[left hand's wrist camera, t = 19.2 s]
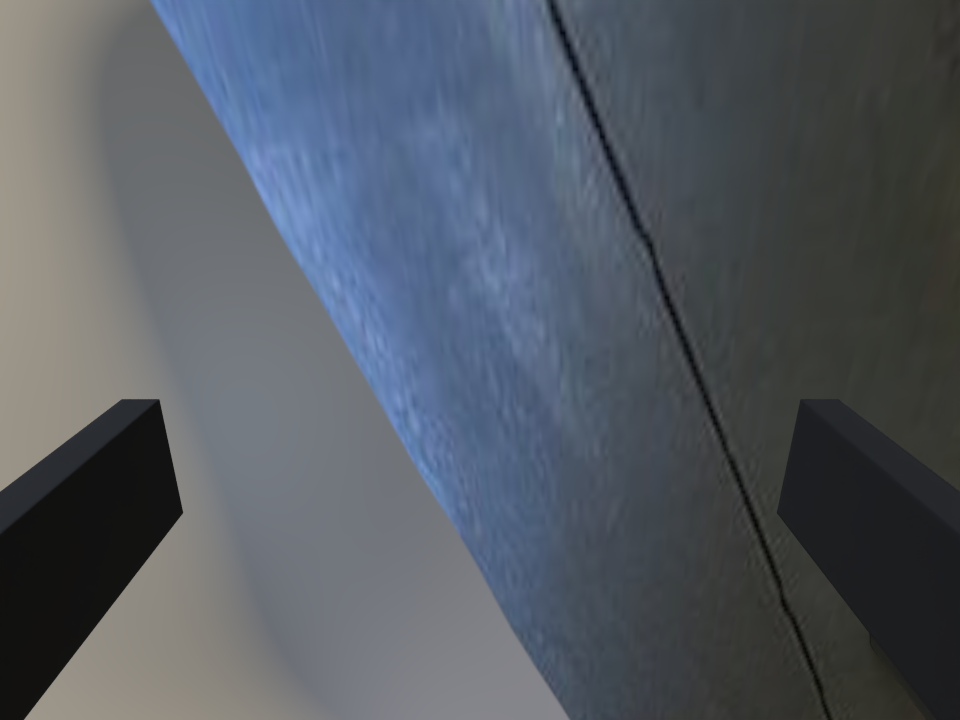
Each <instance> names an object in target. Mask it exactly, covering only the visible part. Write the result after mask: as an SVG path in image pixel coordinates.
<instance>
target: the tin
mask: <svg viewBox="0 0 960 720" xmlns="http://www.w3.org/2000/svg"><path fill="white" fill-rule="evenodd" d="M870 643H871V646H872V648H873V650H874V651H875V652H876V653H877V655H878V656H879V657H880V659H881V660H882V661H883V663H884V664H885V665H886V667H887V668H888V669H889V671H890V672H891V673H892V675H893V676H894V677H895V679H896V680H897V681H898V683H899V684H900V685H901V687H902V688H903V689H904V691H905V692H906V693H907V695H908V696H909V697H910V699H911V700H912V701H913V703H914V704H915V705H916V707H917V708H918V709H919V711H920V712H921V713H922V715H923V716H924V717H925V719H926V720H936V719H935V718H934V716H933V715H932V714H931V712H930V711H929V710H928V708H927V707H926V706H925V705H924V703H923V702H922V701H921V699H920V698H919V697H918V695H917V694H916V693H915V692H914V690H913V689H912V688H911V686H910V685H909V684H908V683H907V681H906V680H905V679H904V677H903V676H902V675H901V673H900V672H899V671H898V670H897V668H896V667H895V666H894V664H893V663H892V662H891V660H890V659H889V658H888V657H887V655H886V654H885V653H884V651H883V650H882V649H881V647H880V646H879V645H878V644H877V642H876V641H875V640H874V638H873V637H872V636H871V635H870Z"/></svg>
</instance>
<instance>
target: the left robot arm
mask: <svg viewBox="0 0 960 720" xmlns="http://www.w3.org/2000/svg"><path fill="white" fill-rule="evenodd" d="M182 514H183V510H182V505H181V500H180V496H179V491H178V486H177V481H176V477H175V472H174V467H173V462H172V458H171V453H170V448H169V443H168V439H167V434H166V429H165V424H164V420H163V415H162V410H161V405H160V400H159V399H122V400H120V401H119V402H118V403H117V404H115V405H114V406H112V407H111V408H110V409H109V410H107V411H106V412H105V413H103V414H102V415H101V416H99V417H98V418H97V419H95V420H94V421H93V422H91V423H90V424H89V425H87V426H86V427H85V428H84V429H82V430H81V431H80V432H78V433H77V434H76V435H74V436H73V437H72V438H70V439H69V440H68V441H66V442H65V443H64V444H63V445H61V446H60V447H59V448H57V449H56V450H55V451H53V452H52V453H51V454H49V455H48V456H47V457H45V458H44V459H43V460H41V461H40V462H39V463H38V464H36V465H35V466H34V467H32V468H31V469H30V470H28V471H27V472H26V473H24V474H23V475H22V476H20V477H19V478H18V479H17V480H15V481H14V482H12V483H11V484H10V485H9V486H7V487H6V488H5V489H3V490H2V491H1V492H0V720H24V719H25V717H26V716H27V715H28V714H29V712H30V711H31V710H32V708H33V707H34V706H35V705H36V703H37V702H38V701H39V699H40V698H41V697H42V695H43V694H44V693H45V692H46V690H47V689H48V688H49V686H50V685H51V684H52V682H53V681H54V680H55V679H56V677H57V676H58V675H59V673H60V672H61V671H62V670H63V668H64V667H65V666H66V664H67V663H68V662H69V660H70V659H71V658H72V657H73V655H74V654H75V653H76V651H77V650H78V649H79V647H80V646H81V645H82V644H83V642H84V641H85V640H86V638H87V637H88V636H89V634H90V633H91V632H92V631H93V629H94V628H95V627H96V625H97V624H98V623H99V621H100V620H101V619H102V618H103V616H104V615H105V614H106V612H107V611H108V610H109V608H110V607H111V606H112V604H113V603H114V602H115V601H116V599H117V598H118V597H119V595H120V594H121V593H122V592H123V590H124V589H125V588H126V586H127V585H128V584H129V582H130V581H131V580H132V579H133V577H134V576H135V575H136V573H137V572H138V571H139V569H140V568H141V567H142V566H143V564H144V563H145V562H146V560H147V559H148V558H149V556H150V555H151V554H152V553H153V551H154V550H155V549H156V547H157V546H158V545H159V543H160V542H161V541H162V540H163V538H164V537H165V536H166V534H167V533H168V532H169V530H170V529H171V528H172V527H173V525H174V524H175V523H176V521H177V520H178V519H179V518H180V516H181V515H182ZM777 514H778V515H779V516H780V518H781V519H782V520H783V521H784V523H785V524H786V525H787V527H788V528H789V529H790V531H791V532H792V533H793V534H794V536H795V537H796V538H797V540H798V541H799V542H800V544H801V545H802V546H803V547H804V549H805V550H806V551H807V553H808V554H809V555H810V556H811V558H812V559H813V560H814V562H815V563H816V564H817V566H818V567H819V568H820V569H821V571H822V572H823V573H824V575H825V576H826V577H827V579H828V580H829V581H830V582H831V584H832V585H833V586H834V588H835V589H836V590H837V592H838V593H839V594H840V595H841V597H842V598H843V599H844V601H845V602H846V603H847V605H848V606H849V607H850V608H851V610H852V611H853V612H854V614H855V615H856V616H857V618H858V619H859V620H860V621H861V623H862V624H863V625H864V627H865V628H866V629H867V631H868V632H869V633H870V634H871V636H872V637H873V638H874V640H875V641H876V642H877V644H878V645H879V646H880V647H881V649H882V650H883V651H884V653H885V654H886V655H887V657H888V658H889V659H890V660H891V662H892V663H893V664H894V666H895V667H896V668H897V670H898V671H899V672H900V673H901V675H902V676H903V677H904V679H905V680H906V681H907V683H908V684H909V685H910V686H911V688H912V689H913V690H914V692H915V693H916V694H917V695H918V697H919V698H920V699H921V701H922V702H923V703H924V705H925V706H926V707H927V708H928V710H929V711H930V712H931V714H932V715H933V716H934V718H935V719H936V720H960V492H959V491H958V490H957V489H955V488H954V487H953V486H951V485H950V484H949V483H948V482H946V481H945V480H944V479H942V478H941V477H940V476H938V475H937V474H936V473H934V472H933V471H932V470H930V469H929V468H928V467H926V466H925V465H924V464H923V463H921V462H920V461H919V460H917V459H916V458H915V457H913V456H912V455H911V454H909V453H908V452H907V451H905V450H904V449H903V448H901V447H900V446H899V445H898V444H896V443H895V442H894V441H892V440H891V439H890V438H888V437H887V436H886V435H884V434H883V433H882V432H880V431H879V430H878V429H876V428H875V427H874V426H873V425H871V424H870V423H869V422H867V421H866V420H865V419H863V418H862V417H861V416H859V415H858V414H857V413H855V412H854V411H853V410H851V409H850V408H849V407H848V406H846V405H845V404H844V403H842V402H841V401H840V400H838V399H801V400H800V405H799V410H798V415H797V419H796V424H795V429H794V434H793V439H792V443H791V448H790V453H789V458H788V462H787V467H786V472H785V477H784V481H783V486H782V491H781V496H780V500H779V505H778V510H777Z"/></svg>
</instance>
